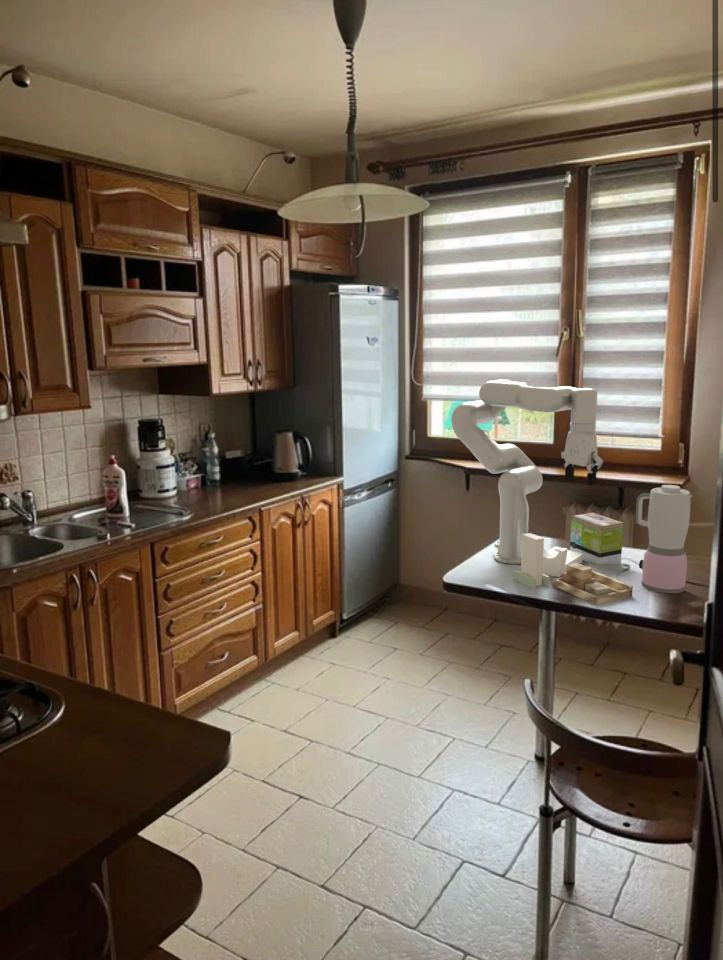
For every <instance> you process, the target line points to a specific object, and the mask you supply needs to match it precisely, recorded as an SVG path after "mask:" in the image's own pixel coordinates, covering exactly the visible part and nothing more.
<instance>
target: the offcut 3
mask: <svg viewBox="0 0 723 960" xmlns="http://www.w3.org/2000/svg"><path fill="white" fill-rule="evenodd" d="M585 591H586V592H588V593H590V594H592V595H595V596H600V595H604V594H608V588H607V587H605V586H603V585H601V584H599V583H591V584H586V586H585Z"/></svg>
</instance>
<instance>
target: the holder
mask: <svg viewBox="0 0 723 960" xmlns="http://www.w3.org/2000/svg"><path fill="white" fill-rule="evenodd" d="M513 577H514V578H513V580H514V581H516V582H518V583H520V584H522V585H524V586H526V587H528V588H529V589H530V588H531V589H532V590H533V589H537V586H536V579H534V578H532V577H530V576H528V575H526V574H523V573H521V571H519V570H514V571H513ZM543 585H544V586H545V587H549V586H550V575H547V574H543V573H542V586H543Z"/></svg>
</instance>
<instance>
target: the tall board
mask: <svg viewBox="0 0 723 960" xmlns="http://www.w3.org/2000/svg"><path fill="white" fill-rule="evenodd" d="M544 542H545V539H544V537H542V536H539V535H536V534H534V533H531V532H528V533H527V534H522V556H521V564H520V572H521V573H523V574H526V575H528V576H530V577H532V578H534V579H536V587H537V586H543V584H542V570H543V547H545V546H544Z"/></svg>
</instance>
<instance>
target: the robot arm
mask: <svg viewBox="0 0 723 960" xmlns="http://www.w3.org/2000/svg"><path fill="white" fill-rule="evenodd" d="M478 395H479V396H478V397H479V399H480V400H473V401H467V402H463V403H460V404H459V405H457V406H456V407H455V408H454V410H453V412H452V414H451V427H452V430H453V432H454V435H456V437H457V439H458V440H460V442H461V443H462V444H463V445H465V447H466V448H467V449H468V450H469V451H470V453H471V454H472V455H473V456H474V457H475V459H477V461H479V463H480V464H481V465H482V466H483V467H484V468H485V470H486V471H488V472H489V473H490V474H500V473H501V475H500V476H499V479H498V483H497V488H498V494H499V501H500V503H499V504H500V506H499V541H498V542H497V543H494V545H493V546H494V548H496V549H497V552H495V553H494V555H493V556H494V560H496V561H497V562H498V563H503V564H509V565H521V556H522V534H527V533H529V520H530V519H529V518H530V517H529V516H530V515H529V513H530V512H529V511H530V510H529V503H528V500H527V495H528V494H532V493H535V492H537V491H538V490H539V489H540V488H541V487H542V485H543V480H544V479H543V478H544V477H543V475H542V473H541V471H540V469H539V468H538V467H537V466H536V465H535V463H534V462H533V461H532V460H531V459H530V458H529V457H528V456H527V455H526V454H525V452H524V451H523V450H522V449H520V447H518V446H516V445H515V444H513V443H503V444H502V443H501V444H500V443H499V444H498V443H497V441H495V440H494V439H493V437H491V435H490V434H488V432H486V431H485V430H483V429H481V428H480V427H479V426H480V425H485V424H488V423H490V422H492V421H494V420H495V419H496V418H497V417H498V416H499V415H500V414H501V413H502V412H504V410H506V409H507V408H512V409H520V410H524V411H525V410H526V411H531V412H540V413H557V412H563V411H570V423H569V427H570V428H569V431H568V432H567V436H566V441H565V445H564V446H565V448H564V451H561V452H560V455H561V460H562V463H563V467H564V468H565V469H564V480H565V481H573V480H574V478H575V467H574V465H575V466H578V467H586V469H587V471H588V472H587V475H586V486H588V487H591V486H596V484H597V474H598V473H599V471H600V469H601V468H602V466H603V463H604V460H603V459H602V458H601V457H600V456H599V455H598V441H597V440H598V439H597V434H596V426H597V406H598V391H597V390H596V389H595V388H591V387H590V388H589V387H582V388H581V387H578V388H577V387H573V386H567V385H565V386H557V387H538V386H537V387H536V386H535V387H534V386H529V385H528V384H527V383H526V382H523V381H522V382H519V381H511V380H509V379H496V380H495V379H494V380H488V381H487V382H485V383H483V384H482V385H481V386H480V389H479V391H478Z"/></svg>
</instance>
